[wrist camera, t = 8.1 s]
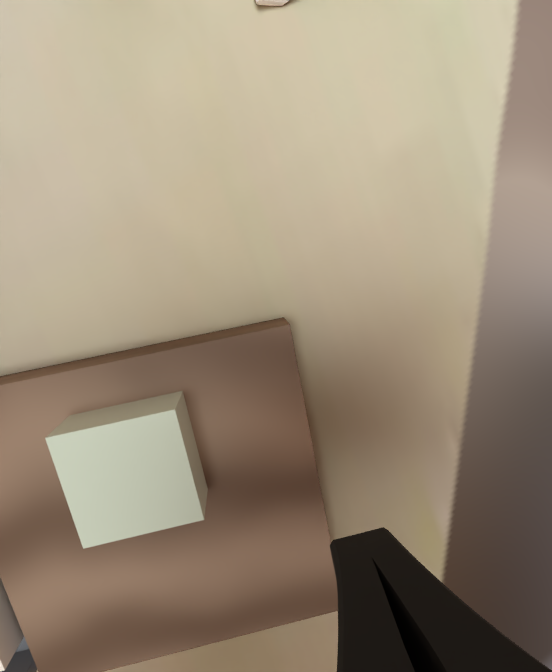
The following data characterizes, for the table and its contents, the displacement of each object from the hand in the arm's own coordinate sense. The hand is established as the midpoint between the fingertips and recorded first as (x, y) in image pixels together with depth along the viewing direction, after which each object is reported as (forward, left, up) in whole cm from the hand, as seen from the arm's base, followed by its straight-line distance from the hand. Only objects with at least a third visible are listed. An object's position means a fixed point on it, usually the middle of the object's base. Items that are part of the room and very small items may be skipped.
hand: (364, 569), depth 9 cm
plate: (-2, +7, -10) cm, 12 cm away
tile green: (+1, +7, -8) cm, 10 cm away
